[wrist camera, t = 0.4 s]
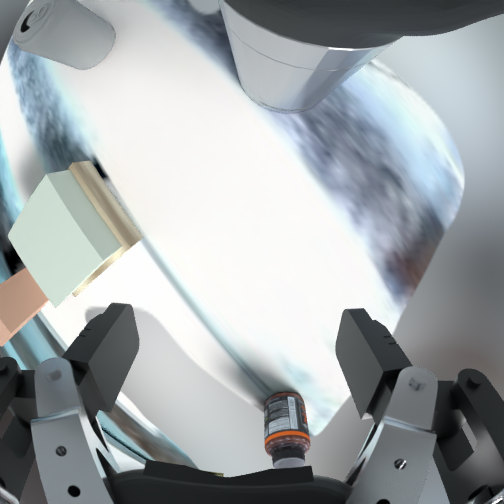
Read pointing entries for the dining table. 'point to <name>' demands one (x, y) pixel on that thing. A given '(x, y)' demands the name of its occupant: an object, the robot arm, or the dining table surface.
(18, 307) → the terracotta pillar block
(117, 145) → the dining table surface
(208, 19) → the dining table surface
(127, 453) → the square plate
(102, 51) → the beverage can
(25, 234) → the sage top block
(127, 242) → the birch base block
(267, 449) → the supplement bottle
